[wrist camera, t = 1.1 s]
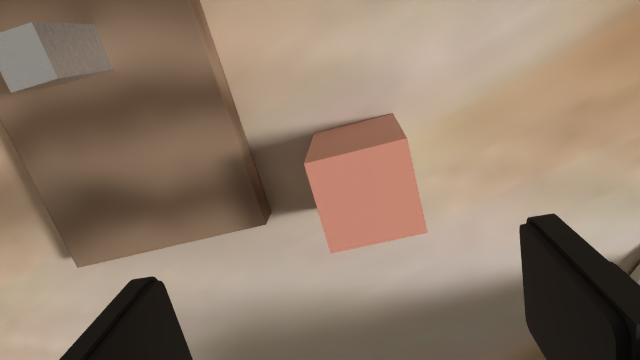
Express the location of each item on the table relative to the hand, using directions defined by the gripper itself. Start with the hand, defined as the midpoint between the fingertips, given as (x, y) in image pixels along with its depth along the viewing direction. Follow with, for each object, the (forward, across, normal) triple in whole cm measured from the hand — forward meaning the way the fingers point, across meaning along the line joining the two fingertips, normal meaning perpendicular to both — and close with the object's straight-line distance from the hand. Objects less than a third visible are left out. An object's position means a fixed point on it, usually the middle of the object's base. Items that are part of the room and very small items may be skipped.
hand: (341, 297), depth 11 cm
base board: (+17, +14, -4) cm, 22 cm away
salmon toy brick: (+17, -1, +2) cm, 17 cm away
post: (+15, +14, -8) cm, 22 cm away
